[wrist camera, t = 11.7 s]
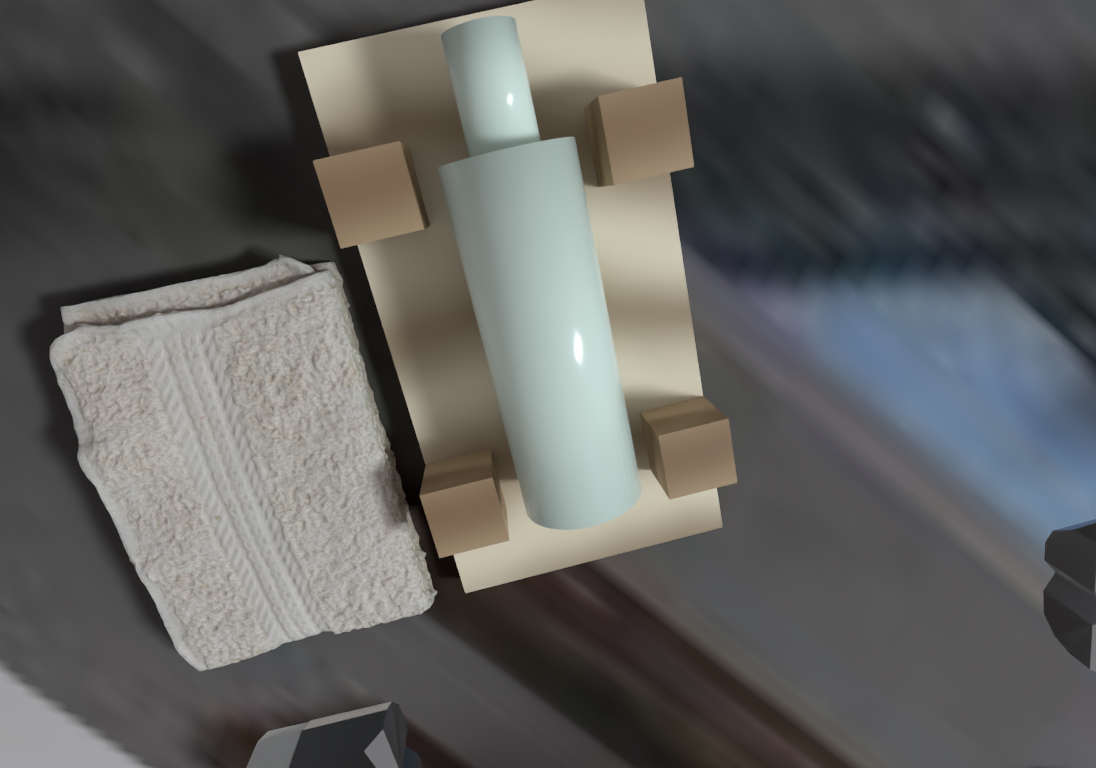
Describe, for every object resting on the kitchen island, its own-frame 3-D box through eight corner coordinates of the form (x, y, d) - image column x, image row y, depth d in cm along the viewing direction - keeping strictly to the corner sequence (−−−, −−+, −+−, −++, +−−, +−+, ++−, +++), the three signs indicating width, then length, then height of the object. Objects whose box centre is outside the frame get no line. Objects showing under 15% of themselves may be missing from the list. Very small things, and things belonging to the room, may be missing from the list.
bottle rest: (713, 515, 31) (748, 561, 27) (465, 578, 31) (464, 635, 27) (632, -13, 24) (663, -55, 20) (306, 59, 23) (271, 30, 19)
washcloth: (336, 240, 26) (318, 245, 23) (446, 589, 31) (443, 629, 28) (56, 304, 26) (0, 317, 23) (217, 647, 31) (189, 694, 28)
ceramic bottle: (627, 458, 28) (654, 511, 24) (523, 483, 28) (529, 541, 24) (544, 32, 23) (558, -11, 18) (414, 61, 23) (394, 25, 18)
